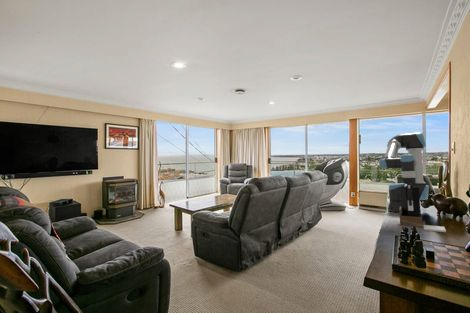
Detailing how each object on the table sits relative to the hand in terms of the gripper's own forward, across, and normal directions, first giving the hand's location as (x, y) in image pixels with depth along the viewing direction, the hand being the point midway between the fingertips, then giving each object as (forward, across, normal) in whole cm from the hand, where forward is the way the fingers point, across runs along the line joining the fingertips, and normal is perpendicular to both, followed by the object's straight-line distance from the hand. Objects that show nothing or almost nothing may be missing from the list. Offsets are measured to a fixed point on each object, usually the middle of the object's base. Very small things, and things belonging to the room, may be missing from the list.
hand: (410, 208), depth 161 cm
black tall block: (+10, 0, 0) cm, 10 cm away
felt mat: (+10, +10, +11) cm, 18 cm away
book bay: (+10, 0, 0) cm, 10 cm away
